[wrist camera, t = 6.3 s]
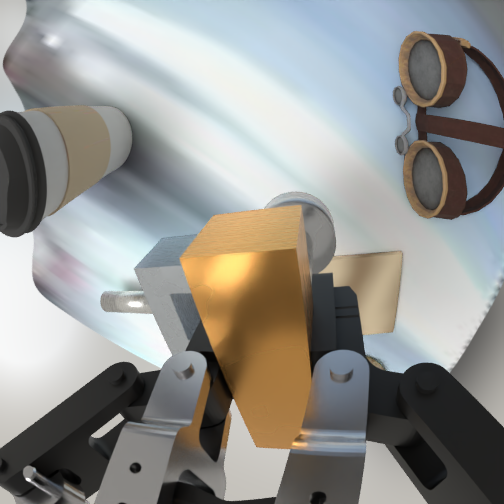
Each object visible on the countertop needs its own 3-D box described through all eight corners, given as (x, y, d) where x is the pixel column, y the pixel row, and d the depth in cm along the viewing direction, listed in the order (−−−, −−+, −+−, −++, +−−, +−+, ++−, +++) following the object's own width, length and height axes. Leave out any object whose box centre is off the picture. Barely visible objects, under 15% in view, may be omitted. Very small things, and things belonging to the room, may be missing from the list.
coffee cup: (66, 159, 27) (-41, 211, 14) (89, 84, 22) (-36, 103, 10) (124, 196, 28) (19, 273, 15) (156, 115, 24) (26, 147, 11)
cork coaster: (400, 251, 26) (402, 253, 25) (392, 328, 30) (393, 332, 30) (299, 258, 28) (299, 262, 27) (306, 335, 32) (306, 338, 32)
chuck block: (267, 227, 27) (257, 260, 22) (282, 319, 32) (276, 360, 27) (105, 245, 31) (75, 272, 26) (137, 319, 36) (116, 350, 31)
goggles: (380, 32, 17) (458, 6, 8) (484, 59, 17) (558, 62, 8) (389, 205, 24) (457, 259, 15) (484, 198, 24) (549, 237, 15)
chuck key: (324, 149, 13) (349, 243, 5) (337, 286, 17) (342, 448, 8) (245, 159, 15) (141, 261, 6) (272, 290, 18) (232, 445, 9)
